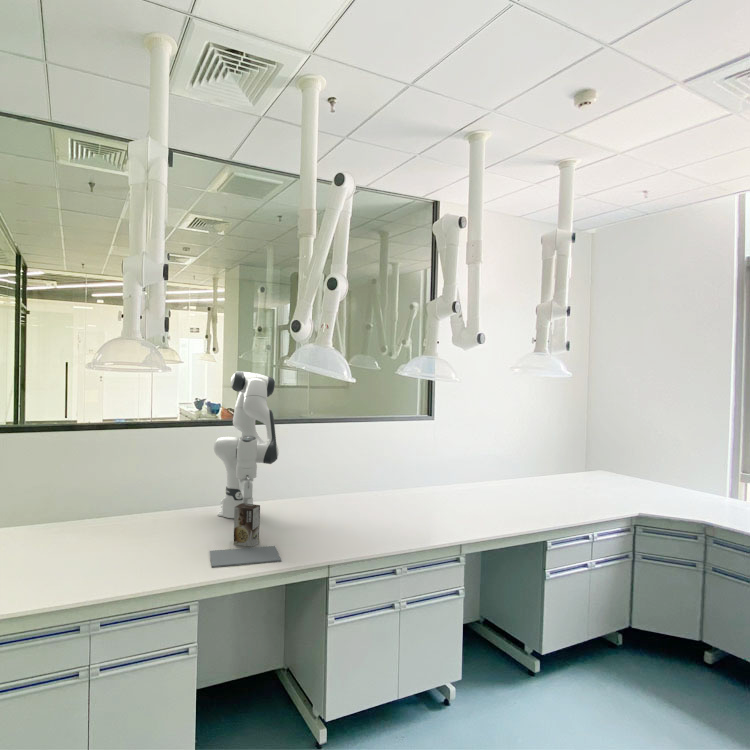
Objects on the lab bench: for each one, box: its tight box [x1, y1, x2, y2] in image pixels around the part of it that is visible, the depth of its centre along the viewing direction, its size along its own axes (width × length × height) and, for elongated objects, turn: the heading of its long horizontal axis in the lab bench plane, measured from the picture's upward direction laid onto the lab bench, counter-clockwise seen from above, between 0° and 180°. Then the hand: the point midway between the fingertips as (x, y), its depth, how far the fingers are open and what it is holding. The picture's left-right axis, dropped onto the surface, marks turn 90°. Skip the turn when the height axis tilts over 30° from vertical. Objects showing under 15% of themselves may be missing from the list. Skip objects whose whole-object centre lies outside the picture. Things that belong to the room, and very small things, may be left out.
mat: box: [209, 545, 282, 568], centre depth 204 cm, size 16×26×1 cm, turn 110°
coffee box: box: [233, 503, 261, 548], centre depth 219 cm, size 9×6×16 cm
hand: (244, 504), depth 228 cm, fingers closed
